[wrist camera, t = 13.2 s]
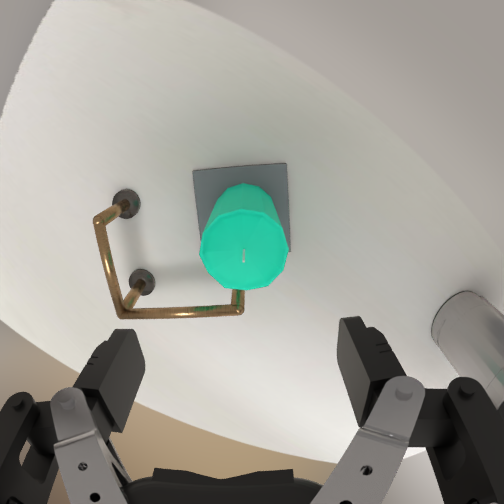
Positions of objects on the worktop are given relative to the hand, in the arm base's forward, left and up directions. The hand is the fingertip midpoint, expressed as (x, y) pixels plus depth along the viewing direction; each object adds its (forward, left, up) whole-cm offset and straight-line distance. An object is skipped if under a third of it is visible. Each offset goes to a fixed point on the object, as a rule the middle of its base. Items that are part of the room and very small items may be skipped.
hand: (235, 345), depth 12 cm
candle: (0, 0, -21) cm, 21 cm away
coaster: (0, 0, -21) cm, 21 cm away
